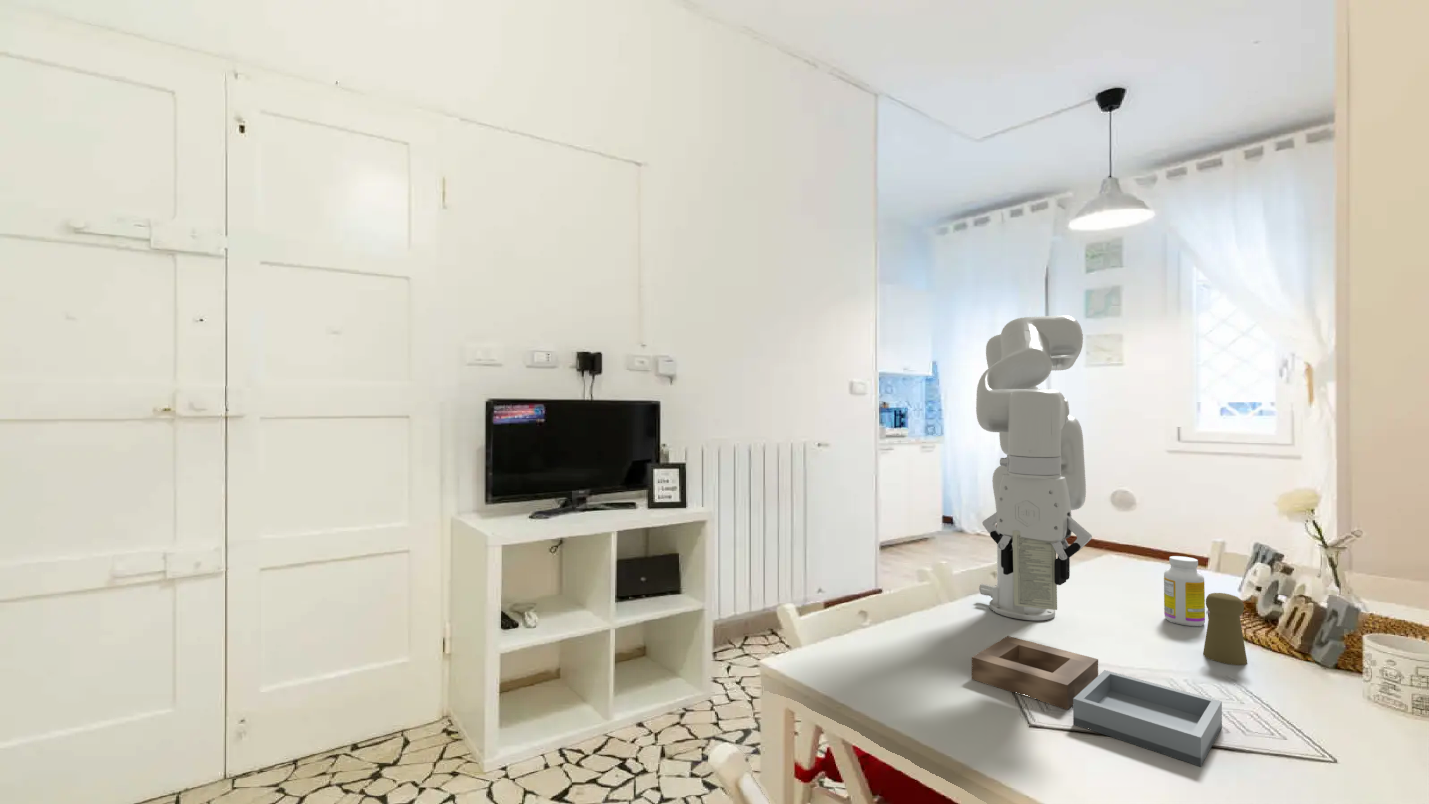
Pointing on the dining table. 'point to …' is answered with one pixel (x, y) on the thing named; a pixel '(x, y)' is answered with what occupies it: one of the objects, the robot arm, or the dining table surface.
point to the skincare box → (1034, 573)
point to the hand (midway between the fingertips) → (1034, 577)
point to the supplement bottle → (1184, 592)
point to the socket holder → (1035, 670)
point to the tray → (1150, 716)
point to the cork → (1225, 630)
